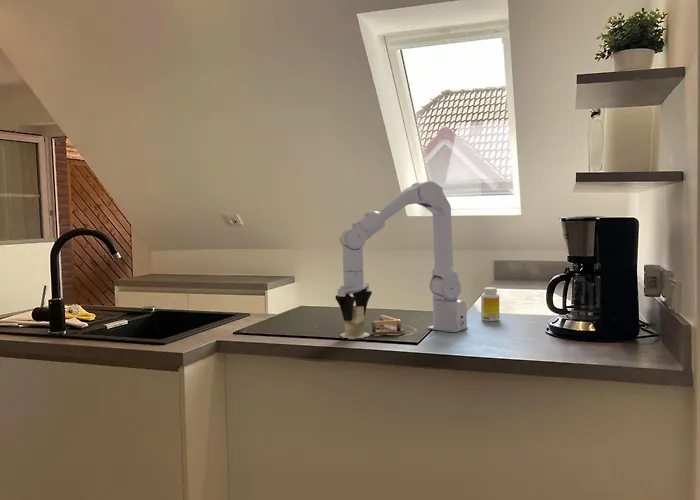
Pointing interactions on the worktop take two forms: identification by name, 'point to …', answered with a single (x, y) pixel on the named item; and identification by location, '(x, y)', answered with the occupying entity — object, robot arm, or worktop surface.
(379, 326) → the copper rod course
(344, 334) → the pad
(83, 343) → the worktop surface
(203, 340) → the worktop surface
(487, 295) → the supplement bottle
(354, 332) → the birch handle block
